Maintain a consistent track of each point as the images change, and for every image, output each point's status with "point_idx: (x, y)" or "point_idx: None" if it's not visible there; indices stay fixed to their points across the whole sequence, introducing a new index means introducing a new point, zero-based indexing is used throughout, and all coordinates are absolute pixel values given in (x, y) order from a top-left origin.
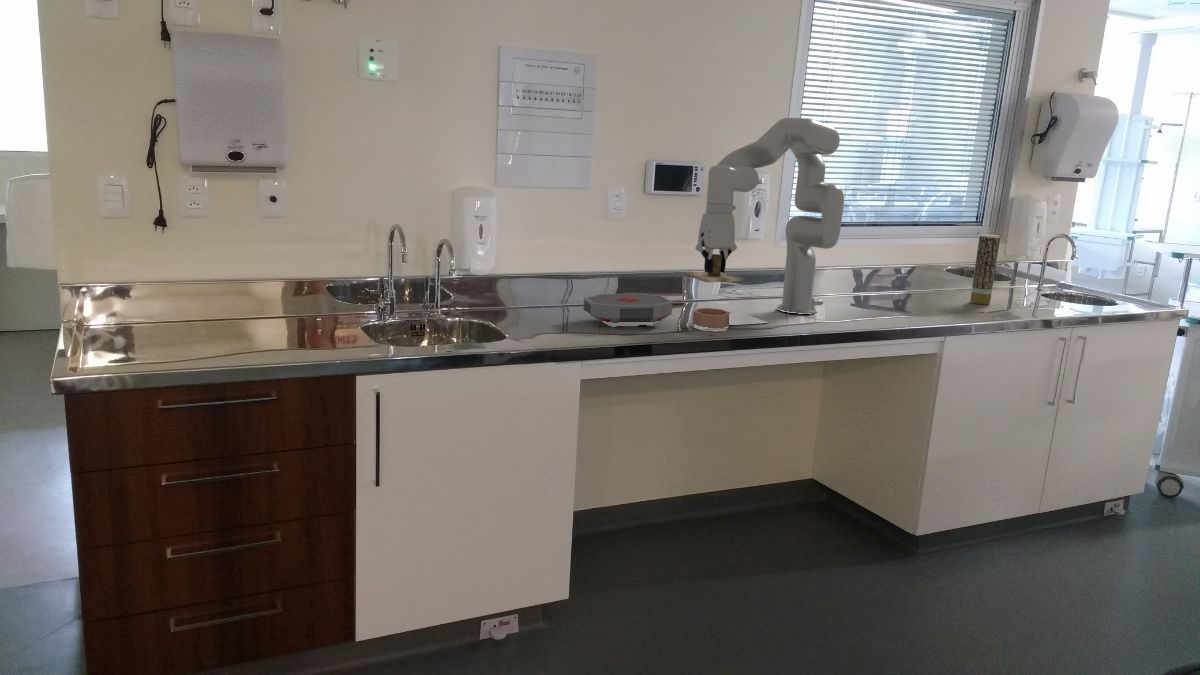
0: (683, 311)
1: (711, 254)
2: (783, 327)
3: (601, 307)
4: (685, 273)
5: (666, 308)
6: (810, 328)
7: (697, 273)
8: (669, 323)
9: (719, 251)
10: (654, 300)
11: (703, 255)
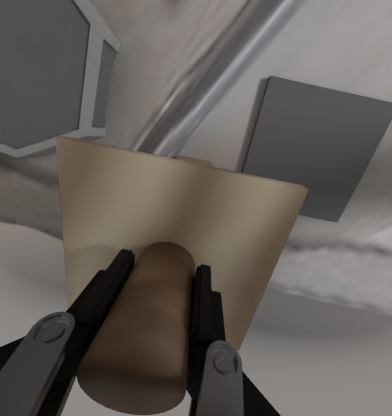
0: None
1: (54, 411)
2: (327, 253)
3: None
4: (59, 154)
5: None
6: (362, 279)
7: (115, 198)
8: (130, 113)
9: (199, 409)
10: (40, 80)
11: (7, 357)
